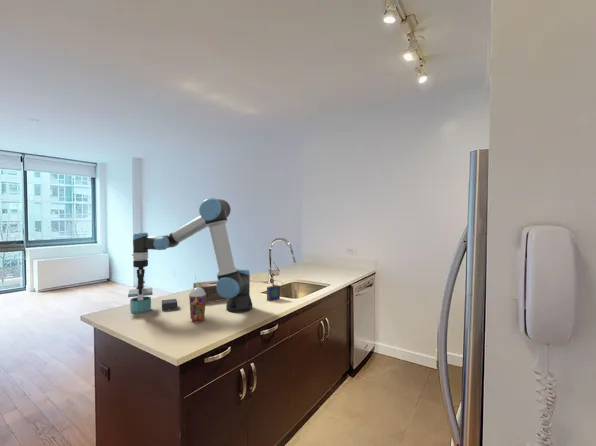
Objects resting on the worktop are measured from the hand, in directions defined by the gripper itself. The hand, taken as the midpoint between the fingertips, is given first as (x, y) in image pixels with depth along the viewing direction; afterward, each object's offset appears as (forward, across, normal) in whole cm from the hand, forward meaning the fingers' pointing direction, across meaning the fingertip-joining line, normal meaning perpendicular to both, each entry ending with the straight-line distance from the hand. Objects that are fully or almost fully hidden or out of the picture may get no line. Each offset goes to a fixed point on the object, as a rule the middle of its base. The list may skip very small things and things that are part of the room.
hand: (140, 297), depth 176 cm
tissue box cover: (+8, -10, +44) cm, 46 cm away
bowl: (+7, 0, 0) cm, 7 cm away
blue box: (+8, +10, +77) cm, 78 cm away
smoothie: (+8, +31, +27) cm, 42 cm away
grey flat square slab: (-2, 0, 0) cm, 2 cm away
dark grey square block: (+7, +2, +15) cm, 17 cm away
